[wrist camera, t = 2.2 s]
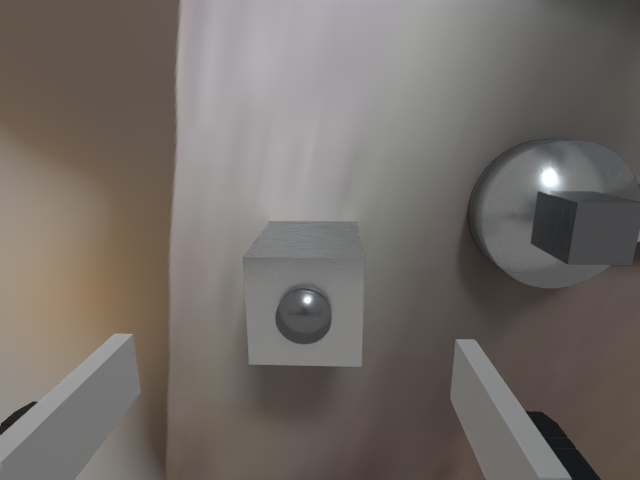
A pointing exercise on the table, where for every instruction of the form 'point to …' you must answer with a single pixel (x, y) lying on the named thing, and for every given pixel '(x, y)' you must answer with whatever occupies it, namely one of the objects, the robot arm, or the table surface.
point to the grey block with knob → (305, 295)
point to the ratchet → (556, 212)
